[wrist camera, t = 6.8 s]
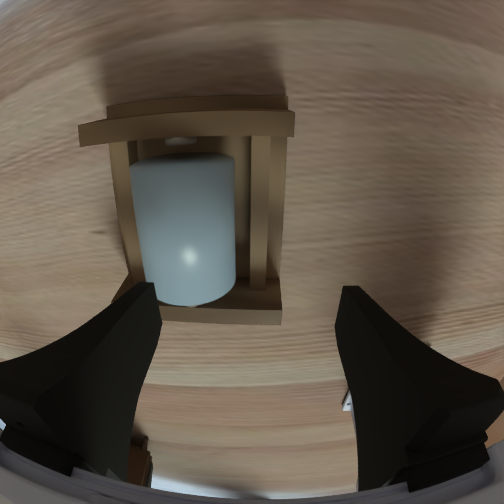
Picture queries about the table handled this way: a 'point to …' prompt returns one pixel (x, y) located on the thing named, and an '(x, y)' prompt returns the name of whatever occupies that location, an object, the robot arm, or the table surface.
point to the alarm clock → (140, 465)
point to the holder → (246, 188)
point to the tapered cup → (186, 224)
